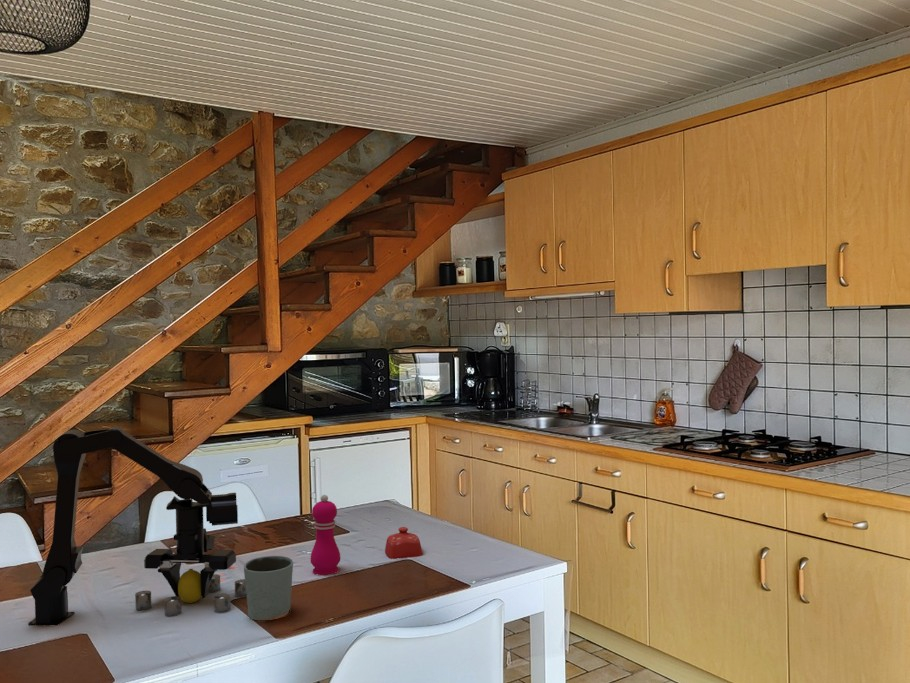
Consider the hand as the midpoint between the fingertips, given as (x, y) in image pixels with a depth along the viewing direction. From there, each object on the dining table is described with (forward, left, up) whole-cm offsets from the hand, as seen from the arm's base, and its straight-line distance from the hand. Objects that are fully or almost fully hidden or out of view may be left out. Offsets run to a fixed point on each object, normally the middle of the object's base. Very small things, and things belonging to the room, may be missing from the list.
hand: (191, 597), depth 168 cm
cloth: (+21, +3, -3) cm, 21 cm away
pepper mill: (+20, -25, -2) cm, 32 cm away
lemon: (0, 0, -2) cm, 2 cm away
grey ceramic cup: (-7, -20, -2) cm, 21 cm away
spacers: (0, 0, -2) cm, 2 cm away
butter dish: (+34, -42, -2) cm, 54 cm away
